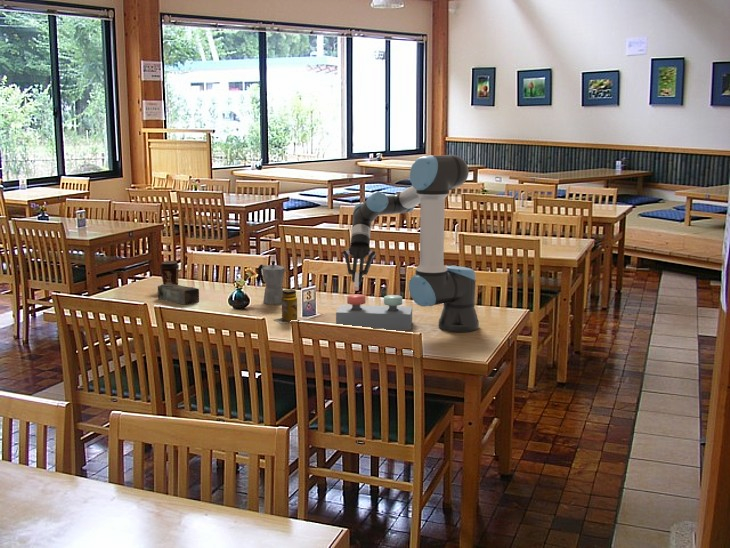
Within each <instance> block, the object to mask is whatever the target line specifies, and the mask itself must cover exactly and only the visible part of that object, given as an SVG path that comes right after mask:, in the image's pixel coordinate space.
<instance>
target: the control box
mask: <svg viewBox="0 0 730 548" xmlns="http://www.w3.org/2000/svg"><path fill="white" fill-rule="evenodd" d="M412 323H413V306H401V305H398V306H397V311H389V305H363V304H362V305H360V310H352V305H351V304H340V305H339V307H338V308H337V310H336V312H335V325H336V324H343V325H352V326H362V327H371V328H384V329H383V330H394V329H395V330H399V331H400V330H401V331H403V330H404V331H411V328H412V325H413V324H412Z"/></svg>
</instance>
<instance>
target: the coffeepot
mask: <svg viewBox="0 0 730 548" xmlns="http://www.w3.org/2000/svg"><path fill="white" fill-rule="evenodd" d="M270 262H271V264H270V265H267V264H260V265H259V266H258V267H257V272H258V275H259V279H260V282H261V283H262V284H265V289H264V294H263V303H264V304H265V305H274V306H275V305H276V306H277V305H282V297H283V296H282V294H283V290H284V289H283V285H282V284H283V281H284V274H285V272H286V269H285V267H284V266H282V265H277V264H276V261H275V260H271V261H270Z"/></svg>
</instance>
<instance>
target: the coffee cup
mask: <svg viewBox="0 0 730 548" xmlns="http://www.w3.org/2000/svg"><path fill="white" fill-rule="evenodd" d="M179 267H180V265H179V263H178V262H177V260H166V261H162V262H161V263H160V264H159V269H160V271H161V272H160V273H161V280H162V284H165V285H166V284H175V285H179Z"/></svg>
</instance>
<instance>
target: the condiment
mask: <svg viewBox="0 0 730 548" xmlns="http://www.w3.org/2000/svg"><path fill="white" fill-rule="evenodd" d="M282 296H283V297H282V304H281V318H273V320H274V321H275V322H277V323H279V324H288V322H289V323H291V322H290V321H291V320H300V319H299V318H298V297H297V290H295V289H292V288H287V289H283V294H282Z"/></svg>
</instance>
